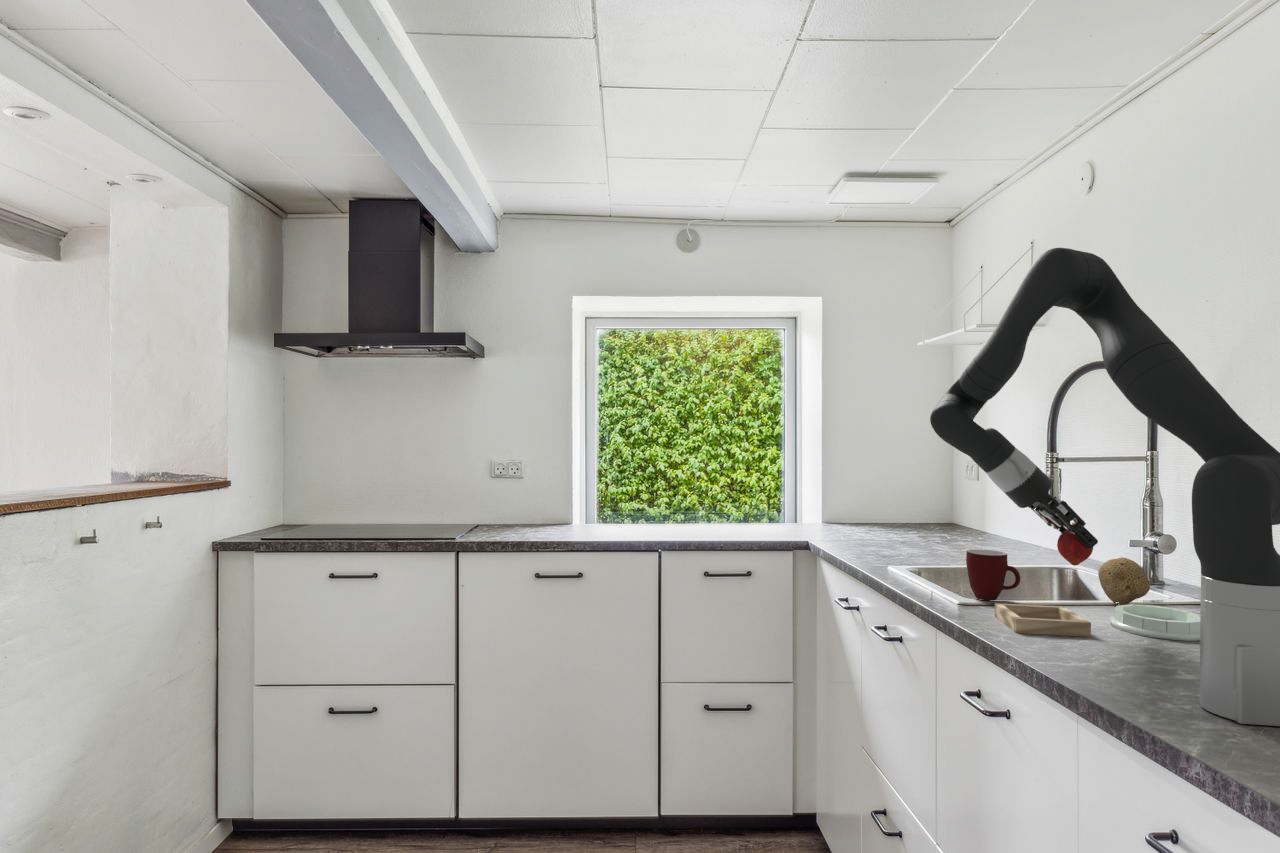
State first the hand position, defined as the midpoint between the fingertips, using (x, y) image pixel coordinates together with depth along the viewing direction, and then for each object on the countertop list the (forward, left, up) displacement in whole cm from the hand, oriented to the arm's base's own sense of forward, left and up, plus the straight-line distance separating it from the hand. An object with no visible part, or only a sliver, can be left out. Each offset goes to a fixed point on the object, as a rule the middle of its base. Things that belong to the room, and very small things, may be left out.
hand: (1085, 542), depth 139 cm
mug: (+22, +10, -16) cm, 29 cm away
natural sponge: (+22, -16, -16) cm, 31 cm away
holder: (0, +8, -16) cm, 18 cm away
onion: (0, +2, -4) cm, 5 cm away
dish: (+2, -13, -16) cm, 21 cm away
